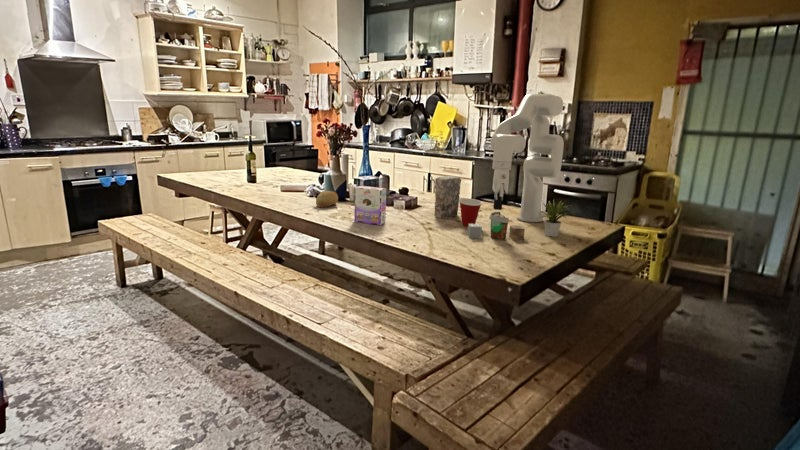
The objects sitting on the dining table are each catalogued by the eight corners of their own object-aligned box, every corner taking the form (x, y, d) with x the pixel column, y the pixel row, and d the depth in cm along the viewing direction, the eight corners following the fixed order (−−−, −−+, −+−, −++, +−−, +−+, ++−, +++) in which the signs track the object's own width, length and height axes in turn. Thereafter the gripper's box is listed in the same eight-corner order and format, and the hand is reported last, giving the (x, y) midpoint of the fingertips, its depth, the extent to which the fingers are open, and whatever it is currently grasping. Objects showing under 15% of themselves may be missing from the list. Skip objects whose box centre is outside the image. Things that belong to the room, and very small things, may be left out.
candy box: (386, 223, 212) (387, 188, 208) (380, 225, 207) (381, 189, 203) (360, 219, 218) (360, 185, 214) (353, 221, 213) (354, 186, 209)
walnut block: (520, 237, 198) (521, 225, 197) (523, 240, 193) (524, 228, 192) (509, 236, 198) (510, 225, 197) (511, 239, 193) (512, 227, 192)
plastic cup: (465, 229, 206) (467, 203, 203) (452, 224, 216) (454, 199, 213) (485, 227, 211) (487, 202, 208) (471, 222, 220) (473, 197, 218)
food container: (484, 233, 202) (486, 211, 199) (498, 233, 202) (500, 211, 200) (492, 241, 190) (494, 217, 187) (506, 241, 190) (509, 218, 188)
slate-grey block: (479, 235, 198) (479, 223, 197) (480, 238, 194) (481, 226, 192) (467, 234, 198) (468, 223, 197) (469, 238, 194) (470, 226, 192)
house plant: (564, 242, 192) (569, 204, 188) (531, 236, 199) (535, 199, 195) (571, 235, 204) (576, 199, 200) (540, 230, 211) (544, 195, 207)
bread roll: (342, 204, 249) (343, 190, 247) (327, 209, 236) (327, 194, 234) (328, 202, 253) (328, 188, 251) (312, 207, 240) (311, 192, 238)
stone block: (443, 219, 224) (446, 178, 219) (432, 216, 228) (434, 177, 223) (459, 215, 233) (462, 176, 228) (448, 213, 238) (451, 175, 233)
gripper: (515, 168, 181) (510, 213, 185) (507, 164, 195) (502, 206, 200) (496, 167, 181) (491, 212, 185) (489, 163, 196) (485, 205, 200)
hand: (497, 209), depth 192 cm, fingers closed
